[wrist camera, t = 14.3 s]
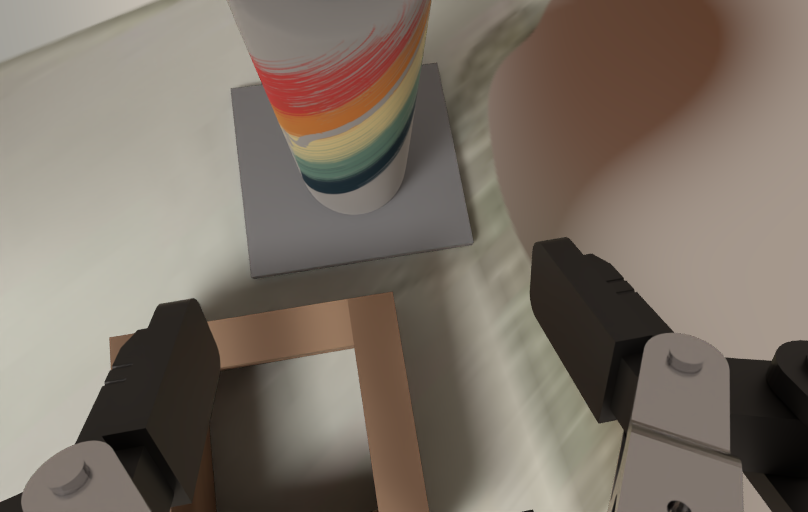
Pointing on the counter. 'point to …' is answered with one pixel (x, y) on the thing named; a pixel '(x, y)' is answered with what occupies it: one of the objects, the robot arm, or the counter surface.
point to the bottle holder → (378, 375)
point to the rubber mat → (336, 232)
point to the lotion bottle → (341, 89)
